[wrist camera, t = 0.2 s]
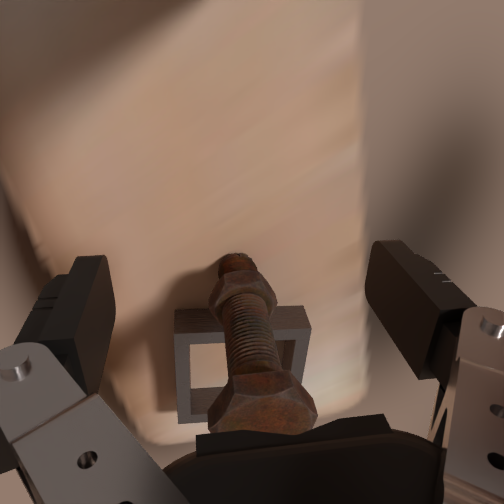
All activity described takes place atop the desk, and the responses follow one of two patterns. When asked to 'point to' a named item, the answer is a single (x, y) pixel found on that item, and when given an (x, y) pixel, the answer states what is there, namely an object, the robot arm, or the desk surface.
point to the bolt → (254, 358)
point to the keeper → (210, 331)
